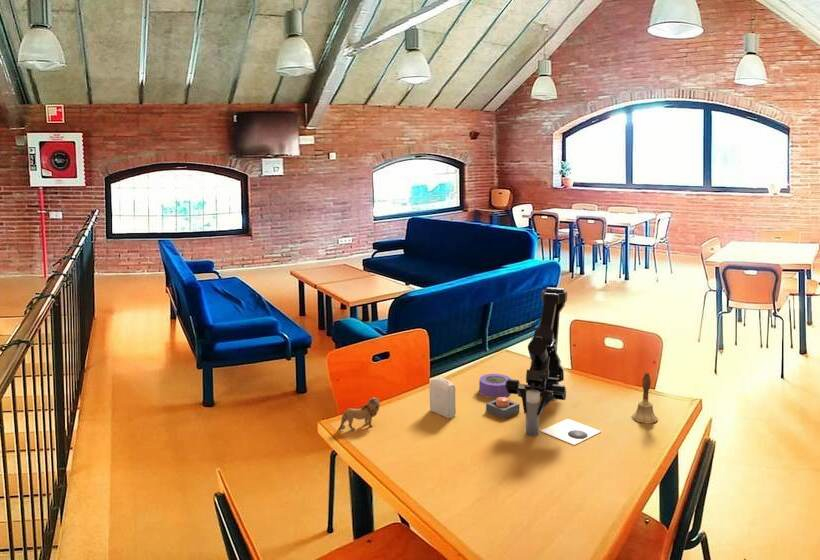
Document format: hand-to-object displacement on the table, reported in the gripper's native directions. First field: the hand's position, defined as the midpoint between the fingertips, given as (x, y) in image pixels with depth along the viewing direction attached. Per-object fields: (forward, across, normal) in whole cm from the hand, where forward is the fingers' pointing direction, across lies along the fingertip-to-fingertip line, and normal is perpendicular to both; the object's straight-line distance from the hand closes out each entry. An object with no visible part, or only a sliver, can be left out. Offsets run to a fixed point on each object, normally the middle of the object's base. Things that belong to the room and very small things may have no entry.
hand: (531, 414), depth 210 cm
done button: (-5, -13, +15) cm, 21 cm away
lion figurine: (+13, -54, -3) cm, 56 cm away
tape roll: (-17, -19, +28) cm, 38 cm away
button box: (-5, -13, +15) cm, 21 cm away
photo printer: (0, -32, +10) cm, 33 cm away
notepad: (0, +11, +10) cm, 15 cm away
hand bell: (-12, +33, +23) cm, 42 cm away
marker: (+4, 0, +6) cm, 7 cm away
